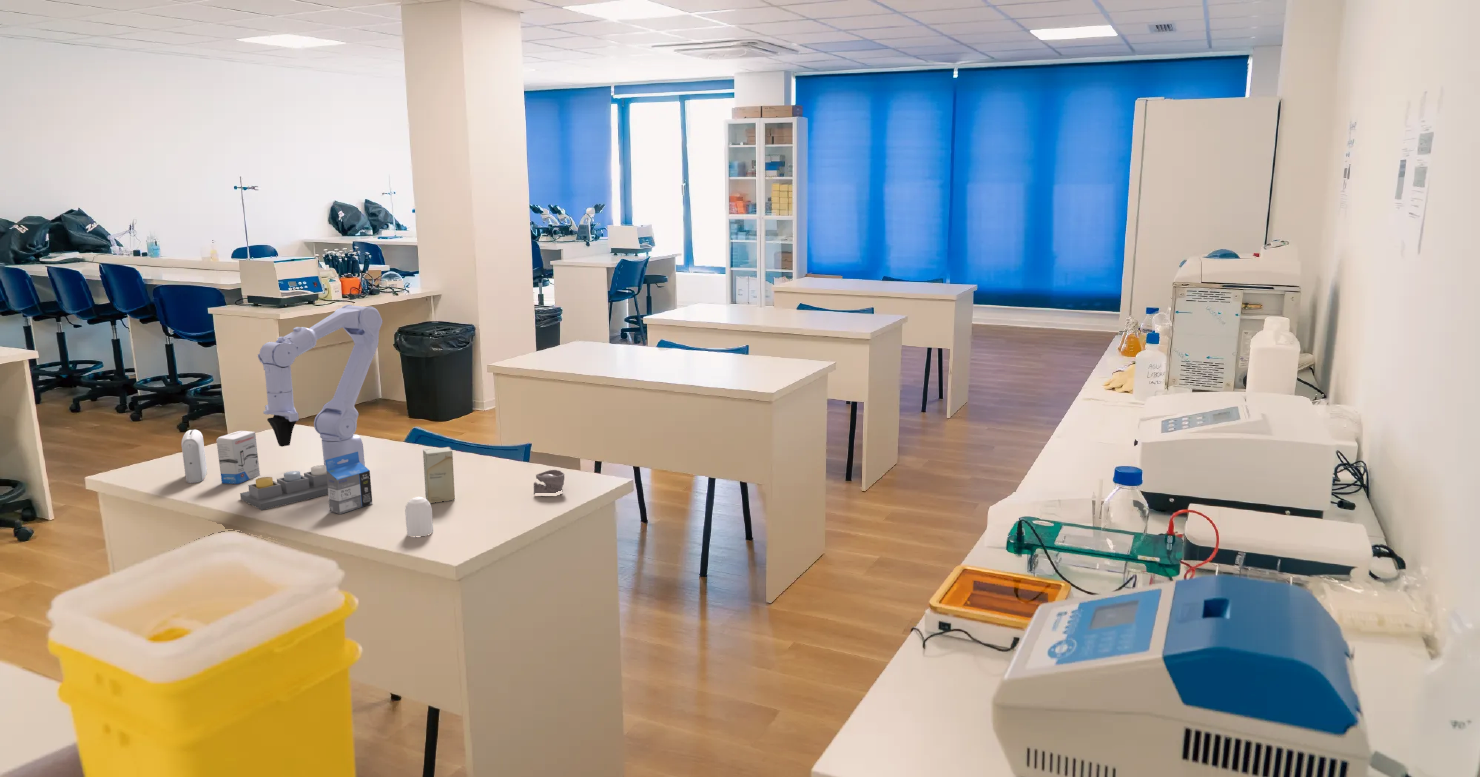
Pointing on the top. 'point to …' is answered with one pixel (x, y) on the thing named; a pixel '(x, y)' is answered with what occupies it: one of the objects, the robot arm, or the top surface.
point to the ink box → (238, 457)
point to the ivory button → (318, 470)
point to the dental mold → (549, 481)
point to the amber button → (264, 482)
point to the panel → (286, 491)
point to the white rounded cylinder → (418, 517)
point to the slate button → (292, 476)
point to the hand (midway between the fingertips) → (284, 445)
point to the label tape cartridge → (348, 484)
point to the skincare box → (439, 474)
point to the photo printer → (194, 456)
